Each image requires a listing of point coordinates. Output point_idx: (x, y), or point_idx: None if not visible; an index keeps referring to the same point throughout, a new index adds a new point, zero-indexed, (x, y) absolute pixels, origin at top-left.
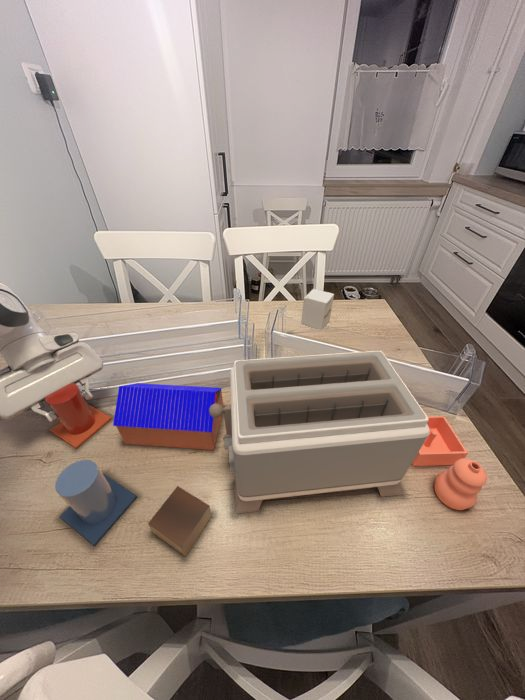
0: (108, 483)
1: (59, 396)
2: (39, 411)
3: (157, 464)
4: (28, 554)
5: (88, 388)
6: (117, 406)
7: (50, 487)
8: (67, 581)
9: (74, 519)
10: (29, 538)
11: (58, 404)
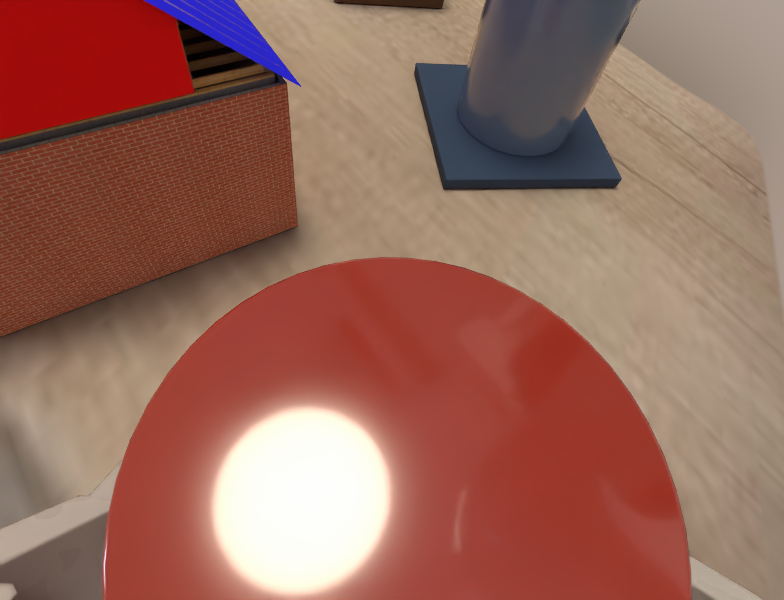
0: (481, 14)
1: (480, 434)
2: (731, 594)
3: (295, 86)
4: (710, 178)
5: (59, 507)
6: (181, 18)
7: (624, 307)
8: (632, 76)
9: (585, 141)
10: (707, 209)
11: (542, 312)
